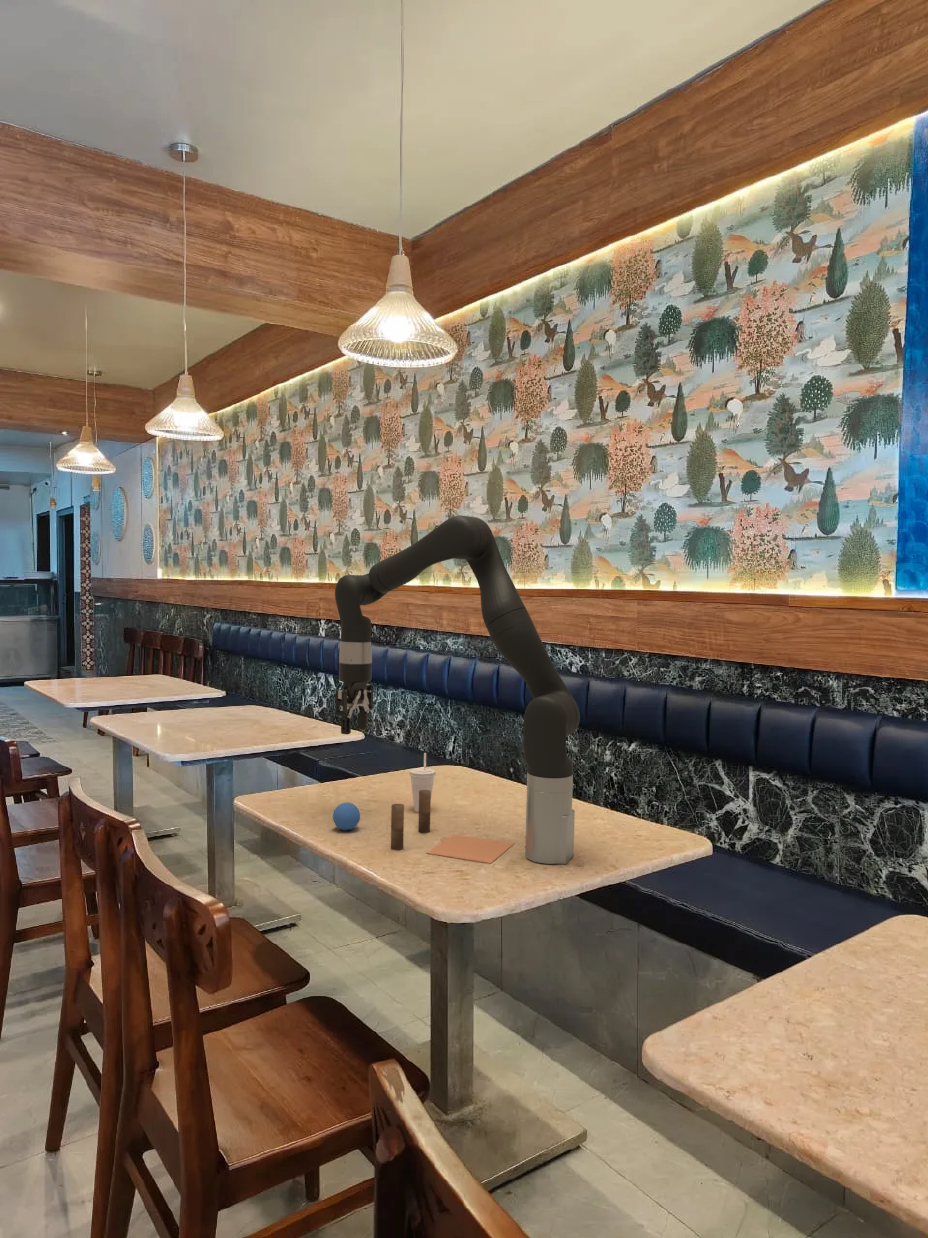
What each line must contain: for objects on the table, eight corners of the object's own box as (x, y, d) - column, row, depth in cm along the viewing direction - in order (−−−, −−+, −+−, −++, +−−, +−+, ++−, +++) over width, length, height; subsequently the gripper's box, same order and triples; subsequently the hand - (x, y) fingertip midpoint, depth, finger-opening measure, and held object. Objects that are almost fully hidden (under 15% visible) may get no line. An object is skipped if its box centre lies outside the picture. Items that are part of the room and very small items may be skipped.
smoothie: (431, 814, 202) (432, 756, 202) (405, 812, 204) (406, 754, 203) (437, 807, 208) (438, 751, 208) (412, 806, 210) (413, 749, 209)
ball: (364, 828, 190) (365, 801, 190) (351, 835, 185) (351, 807, 185) (341, 824, 193) (342, 798, 192) (327, 831, 187) (327, 804, 187)
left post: (405, 847, 177) (406, 804, 177) (399, 851, 175) (400, 807, 174) (394, 845, 178) (395, 803, 178) (388, 849, 176) (389, 806, 176)
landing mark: (514, 844, 181) (514, 843, 181) (490, 864, 168) (490, 863, 168) (453, 835, 186) (453, 834, 186) (426, 853, 174) (426, 852, 173)
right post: (431, 830, 189) (432, 790, 189) (426, 834, 187) (427, 793, 187) (421, 829, 190) (422, 789, 190) (416, 832, 188) (417, 792, 188)
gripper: (354, 664, 190) (352, 738, 190) (384, 659, 203) (383, 728, 204) (325, 662, 193) (323, 735, 193) (356, 657, 206) (355, 725, 207)
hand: (354, 731), depth 199 cm, fingers open, 7 cm apart
